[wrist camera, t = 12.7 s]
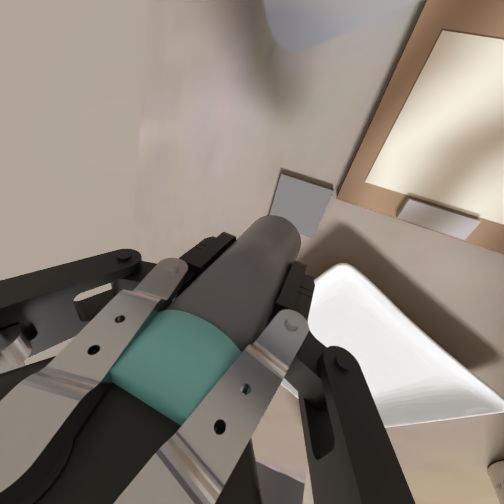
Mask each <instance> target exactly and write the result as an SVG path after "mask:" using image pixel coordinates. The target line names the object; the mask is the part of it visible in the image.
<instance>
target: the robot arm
mask: <svg viewBox="0 0 504 504" xmlns="http://www.w3.org/2000/svg"><path fill="white" fill-rule="evenodd" d="M235 241H236V237H235V236H233V235H231V234H228V233H226V232H223V233H221V234H220V235H219V236H218V237H217V238H216V237H213V236H212V237H209V238H206V239H204V240H202V241H201V242H200V243H199V244H197V245H196V246H195V247H193V248H192V249H191V250H189V251H188V252H187V253H185V254H184V255H183V256H181V257H180V258H179V259H178V258H167V259H164V260H161V261H160V262H159V263H158V264H155V263H150V262H144V261H142V259H141V254H140V253H139V252H138V251H136V250H132V249H120V250H116V251H112V252H108V253H104V254H100V255H97V256H93V257H89V258H85V259H82V260H78V261H74V262H70V263H66V264H62V265H58V266H55V267H51V268H47V269H44V270H40V271H36V272H32V273H28V274H24V275H20V276H17V277H13V278H9V279H5V280H1V281H0V504H263V499H262V494H261V488H260V483H259V478H258V472H257V467H256V461H255V456H254V450H253V445H252V439H251V436H252V435H253V433H254V431H255V429H256V427H257V425H258V424H259V422H260V420H261V418H262V416H263V415H264V413H265V411H266V409H267V407H268V406H269V404H270V402H271V400H272V398H273V396H274V395H275V393H276V391H277V389H278V387H279V386H280V384H281V382H282V380H283V378H285V379H286V380H287V381H288V382H289V383H290V384H291V385H292V386H293V387H294V388H295V389H296V390H297V391H298V398H299V404H300V411H301V418H302V425H303V432H304V439H305V445H306V452H307V459H308V466H309V473H310V480H311V487H312V493H313V500H314V504H415V501H414V499H413V496H412V494H411V492H410V489H409V487H408V484H407V482H406V479H405V477H404V474H403V472H402V469H401V467H400V464H399V462H398V459H397V457H396V454H395V452H394V449H393V447H392V444H391V442H390V439H389V437H388V434H387V432H386V429H385V427H384V424H383V422H382V419H381V417H380V414H379V412H378V409H377V407H376V404H375V402H374V399H373V397H372V394H371V392H370V389H369V387H368V384H367V382H366V380H365V377H364V375H363V372H362V370H361V367H360V365H359V363H358V361H357V360H356V358H355V357H354V356H353V355H352V354H351V353H350V352H349V351H347V350H346V349H344V348H342V347H339V346H329V347H326V346H325V345H323V344H322V343H321V342H320V341H318V340H317V339H316V338H315V337H314V336H313V334H312V333H311V331H310V329H309V326H308V316H309V312H310V307H311V302H312V297H313V292H314V288H315V283H314V280H313V278H312V277H310V276H307V275H305V274H304V272H305V269H306V266H307V265H305V264H302V263H300V262H297V261H295V260H294V262H293V264H292V266H291V269H290V271H289V274H288V276H287V278H286V281H285V283H284V286H283V288H282V290H281V293H280V295H279V298H278V300H277V302H276V305H275V307H274V310H273V315H272V319H271V322H270V324H269V325H268V326H267V327H266V329H265V330H264V331H263V332H262V334H261V335H260V336H259V337H258V339H257V340H256V341H255V342H254V343H253V344H249V345H248V346H247V347H246V348H245V349H244V351H243V352H242V353H241V354H240V356H239V357H238V358H237V359H236V360H235V362H234V363H233V364H232V365H231V366H230V368H229V369H228V370H227V371H226V373H225V374H224V375H223V376H222V377H221V379H220V380H219V381H218V382H217V383H216V385H215V386H214V387H213V388H212V390H211V391H210V392H209V393H208V394H207V396H206V397H205V398H204V399H203V400H202V402H201V403H200V404H199V405H198V407H197V408H196V409H195V410H194V411H193V413H192V414H191V415H190V416H189V418H188V419H187V420H186V421H185V422H184V424H183V425H182V426H181V425H179V424H177V423H176V422H174V421H173V420H171V419H170V418H168V417H166V416H165V415H163V414H162V413H160V412H159V411H157V410H155V409H154V408H152V407H151V406H149V405H148V404H146V403H144V402H143V401H141V400H140V399H138V398H137V397H135V396H133V395H132V394H130V393H129V392H127V391H126V390H124V389H122V388H121V387H119V386H118V385H116V384H115V383H113V382H112V381H113V380H112V377H111V374H110V370H111V369H112V367H113V366H114V365H115V364H116V362H117V361H118V360H119V359H120V357H121V356H122V355H123V354H124V352H125V351H126V350H127V349H128V348H129V346H130V345H131V344H132V343H133V342H134V340H135V339H136V338H137V337H138V336H139V334H140V333H141V332H142V331H143V329H144V328H145V327H146V326H147V325H148V324H149V323H150V321H151V320H152V319H153V318H154V317H155V316H156V315H157V313H158V312H161V311H164V310H165V309H166V308H167V307H168V306H169V305H170V304H171V303H172V302H173V301H174V300H175V299H176V298H177V297H178V296H179V295H180V294H181V293H182V292H183V291H184V290H185V289H186V288H187V287H188V286H190V285H191V284H192V283H193V282H194V281H195V280H196V279H197V278H198V277H199V276H200V275H201V274H202V273H203V272H204V271H205V270H206V269H207V268H208V267H209V266H210V265H211V264H212V263H213V262H214V261H215V260H216V259H217V258H218V257H219V256H220V255H221V254H222V253H223V252H224V251H226V250H227V249H228V248H229V247H230V246H231V245H232V244H233V243H234V242H235ZM108 283H111V286H112V289H111V290H108V291H105V292H103V293H100V294H97V295H94V296H92V297H89V298H87V299H84V300H81V301H73V300H74V298H75V297H76V296H77V295H78V294H80V293H82V292H85V291H88V290H90V289H94V288H96V287H99V286H102V285H105V284H108ZM76 335H77V336H76ZM74 336H76V337H75V338H74V339H73V340H72V341H71V342H70V343H69V344H68V345H67V346H66V347H65V348H64V349H63V350H62V351H61V352H60V353H59V354H58V355H57V356H54V357H51V358H48V359H45V360H42V361H39V362H36V363H32V364H29V365H26V366H25V363H24V361H25V360H26V359H27V358H28V357H31V356H33V355H35V354H37V353H39V352H42V351H44V350H46V349H48V348H50V347H52V346H54V345H57V344H59V343H61V342H63V341H65V340H68V339H70V338H72V337H74ZM242 393H244V394H242ZM215 428H217V430H216V432H215V431H214V429H215ZM488 474H489V477H490V479H491V482H492V484H493V487H494V489H495V492H496V494H497V497H498V499H499V501H500V504H504V461H499V462H496V463H494V464H492V465H491V466H490V467H489V469H488Z"/></svg>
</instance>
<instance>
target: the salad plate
mask: <svg viewBox="0 0 504 504" xmlns="http://www.w3.org/2000/svg"><path fill="white" fill-rule="evenodd" d="M314 283H315V288H314V292H313V297H312V302H311V307H310V312H309V316H308V326H309V329H310V331H311V333H312V334H313V336H314V337H315V338H316V339H317V340H318V341H320V342H321V343H322V344H323V345H325V346H326V347H329V346H339V347H342V348H344V349H346V350H347V351H349V352H350V353H351V354H352V355H353V356H354V357H355V358H356V360H357V361H358V363H359V365H360V367H361V370H362V372H363V375H364V377H365V380H366V382H367V384H368V387H369V389H370V392H371V394H372V397H373V399H374V402H375V404H376V407H377V409H378V412H379V414H380V417H381V419H382V422H383V424H384V427H393V426H401V425H410V424H419V423H426V422H434V421H442V420H450V419H457V418H465V417H472V416H480V415H488V414H496V413H503V412H504V398H503V397H502V396H500V395H499V394H498V393H497V392H496V391H495V390H494V389H492V388H491V387H490V386H489V385H487V384H486V383H485V382H484V381H482V380H481V379H480V378H479V377H477V376H476V375H475V374H474V373H472V372H471V371H470V370H469V369H467V368H466V367H465V366H463V365H462V364H461V363H460V362H459V361H457V360H456V359H455V358H454V357H453V356H451V355H450V354H449V353H448V352H447V351H445V350H444V349H443V348H442V347H441V346H440V345H438V344H437V343H436V342H435V341H434V340H433V339H432V338H430V337H429V336H428V335H427V334H426V333H425V332H424V331H422V330H421V329H420V328H419V327H418V326H417V325H416V324H415V323H414V322H413V321H411V320H410V319H409V318H408V317H407V316H406V315H405V314H404V313H403V312H402V311H401V310H400V309H399V308H398V307H397V306H396V305H395V304H394V303H393V302H392V301H391V300H390V299H389V298H388V297H387V296H386V295H385V294H384V293H383V292H382V291H381V290H380V289H379V288H378V287H377V286H376V285H375V284H374V283H373V282H371V281H370V280H369V279H368V278H367V277H366V276H365V275H364V274H362V273H361V272H360V271H359V270H358V269H356V268H355V267H354V266H352V265H350V264H348V263H338V264H336V265H334V266H332V267H331V268H329V269H328V270H326V271H325V272H324V273H322V274H321V275H320V276H318V277H317V278H316V279H315V280H314ZM281 385H282V386H284V387H285V388H286V389H287V390H288V391H290V392H291V393H292V394H293V395H294V396H295V397H296V398H298V391H297V390H296V389H295V388H294V387H293V386H292V385H291V384H290V383H289V382H288V381H287V380H286V379H285V378H283V380H282V382H281ZM298 399H299V398H298Z"/></svg>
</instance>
